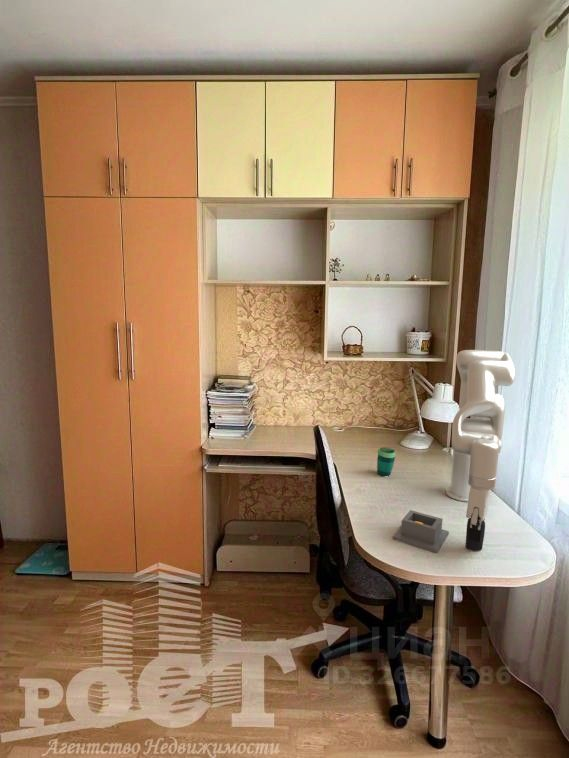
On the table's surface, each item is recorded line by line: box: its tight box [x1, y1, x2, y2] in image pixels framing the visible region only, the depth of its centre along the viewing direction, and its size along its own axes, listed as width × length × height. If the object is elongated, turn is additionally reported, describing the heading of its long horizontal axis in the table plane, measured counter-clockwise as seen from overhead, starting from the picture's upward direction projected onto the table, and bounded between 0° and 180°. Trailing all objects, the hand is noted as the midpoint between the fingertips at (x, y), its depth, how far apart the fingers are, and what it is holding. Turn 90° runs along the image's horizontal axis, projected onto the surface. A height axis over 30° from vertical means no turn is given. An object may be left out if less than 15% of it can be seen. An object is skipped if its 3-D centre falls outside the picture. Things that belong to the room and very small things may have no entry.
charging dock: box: [392, 509, 450, 554], centre depth 141 cm, size 14×14×6 cm
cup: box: [376, 446, 397, 477], centre depth 192 cm, size 8×8×12 cm
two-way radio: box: [464, 515, 486, 552], centre depth 133 cm, size 6×4×15 cm
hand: (476, 535), depth 133 cm, fingers closed on two-way radio, 4 cm apart
